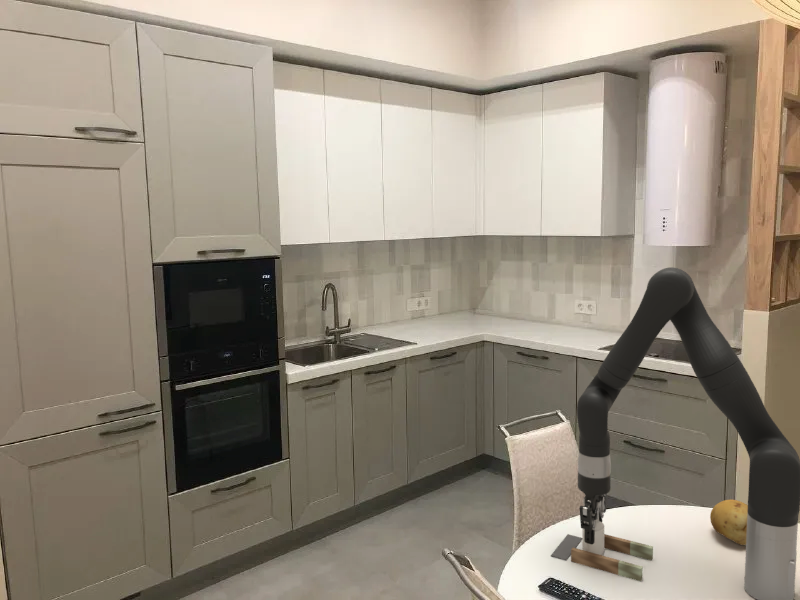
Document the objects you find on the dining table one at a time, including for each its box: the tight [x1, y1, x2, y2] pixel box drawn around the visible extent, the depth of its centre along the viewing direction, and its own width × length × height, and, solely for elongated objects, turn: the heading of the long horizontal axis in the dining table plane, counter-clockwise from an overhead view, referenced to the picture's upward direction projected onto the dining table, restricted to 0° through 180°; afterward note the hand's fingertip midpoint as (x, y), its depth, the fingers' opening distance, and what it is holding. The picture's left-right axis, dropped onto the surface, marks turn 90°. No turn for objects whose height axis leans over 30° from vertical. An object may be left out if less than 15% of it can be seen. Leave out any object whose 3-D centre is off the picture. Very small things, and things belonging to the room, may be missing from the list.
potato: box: [709, 499, 748, 546], centre depth 157 cm, size 10×12×10 cm
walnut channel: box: [570, 533, 654, 582], centre depth 149 cm, size 16×11×3 cm
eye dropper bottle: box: [581, 514, 605, 556], centre depth 151 cm, size 4×6×12 cm
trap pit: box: [550, 533, 582, 562], centre depth 156 cm, size 4×12×1 cm, turn 146°
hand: (593, 537), depth 152 cm, fingers closed on eye dropper bottle, 5 cm apart
